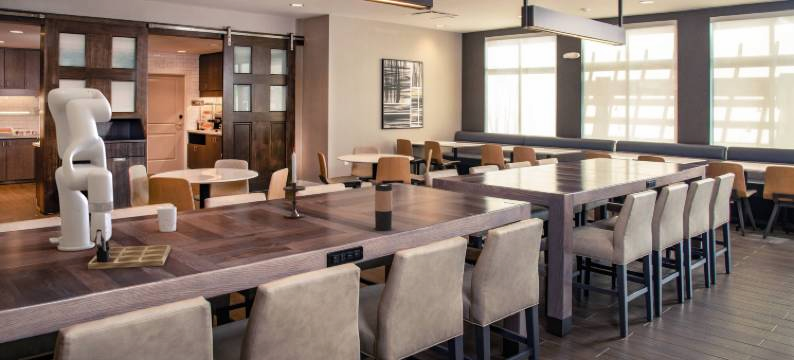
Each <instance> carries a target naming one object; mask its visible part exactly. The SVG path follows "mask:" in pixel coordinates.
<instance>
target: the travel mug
mask: <svg viewBox="0 0 794 360" xmlns="http://www.w3.org/2000/svg"><path fill="white" fill-rule="evenodd" d="M374 223H375V226H374V227H375V228H374V229H375V231H379V232H387V231H388V232H389V231H391V230H392V229H393V228H392V226H393V184H392V183H389V184H386V183H375V186H374Z"/></svg>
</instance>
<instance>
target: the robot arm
mask: <svg viewBox="0 0 794 360" xmlns="http://www.w3.org/2000/svg"><path fill="white" fill-rule="evenodd" d="M47 103H48V104H47V105H48V109H49V111H50V113H51V116H52V118H53V120H54V123H55V134H56V135H55V136H56V144H57V145H56V146H57V154H58V157H59V158H60V160H62V162H61V166H59V167H58V168H56V170H55V172H54V178H55V182H56V187H57V191H58V192H57V193H58V198H59V199H58V201H59V214H60V230H61V231H60V232H61V233H60V234H61V236H59V237H49V240H48V241H49V244H58V245H57V250H59V251H61V252H77V251H85V250H89V249H92V248H95V249H96V252H95V253H96V254H95V256H96V255H97V262H107V250H106V249H109V250H110V247H111V246H110V238H111V237H112V234H113V233H112V232H113V231H112V215H111V213H112V212H114V209H115V208H114V189H113V188H114V186H113V173H112V172H111V171H110V170H108V168H107V156H106V155H107V154H106V145H105V142H104V140H103V138H102V137H101V136H99V133H98V128H97V123H108V122H109V121H111V118H112V107H111V104H110V102H109V101H108V99H107V98H106V97H105V95H104V94H103V93H102V92H101V90H99V89H97V88H91V87H89V88H88V87H87V88H85V87H84V88H83V87H82V88H81V87H59V88H53V89H51V90H50V91H49V92H48V93H47ZM76 161H78V162H79V161H90V162H91V163H76V164H74V163H73V162H76ZM81 191H87V197H86V196H85V194H83V193H82V192H81ZM89 214H90V215H91V216H90V215H89Z"/></svg>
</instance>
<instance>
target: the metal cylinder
mask: <svg viewBox="0 0 794 360" xmlns="http://www.w3.org/2000/svg"><path fill="white" fill-rule="evenodd" d="M106 250H107V261H110V250H109V249H106Z"/></svg>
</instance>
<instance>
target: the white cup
mask: <svg viewBox="0 0 794 360" xmlns="http://www.w3.org/2000/svg"><path fill="white" fill-rule="evenodd" d="M177 210H178V209H177V206H174V205H173V206H172V205H167V206H166V205H165V206H159V207H157V208H156V211H157V222H158V230H159V232H160V233H172V232H175V231H176V230H177V218H178V216H177V215H178V214H177Z"/></svg>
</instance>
